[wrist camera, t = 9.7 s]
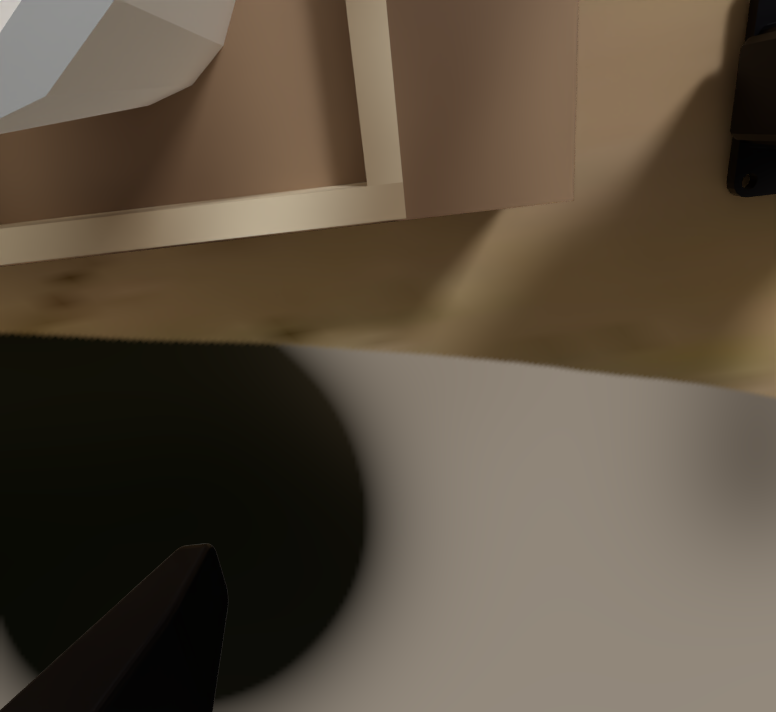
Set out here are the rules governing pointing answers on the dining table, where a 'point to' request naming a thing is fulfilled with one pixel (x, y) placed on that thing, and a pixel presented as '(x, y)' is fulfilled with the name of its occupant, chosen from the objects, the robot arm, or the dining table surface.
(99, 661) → the robot arm
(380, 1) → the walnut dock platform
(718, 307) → the dining table surface
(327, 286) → the dining table surface
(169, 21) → the shot glass
